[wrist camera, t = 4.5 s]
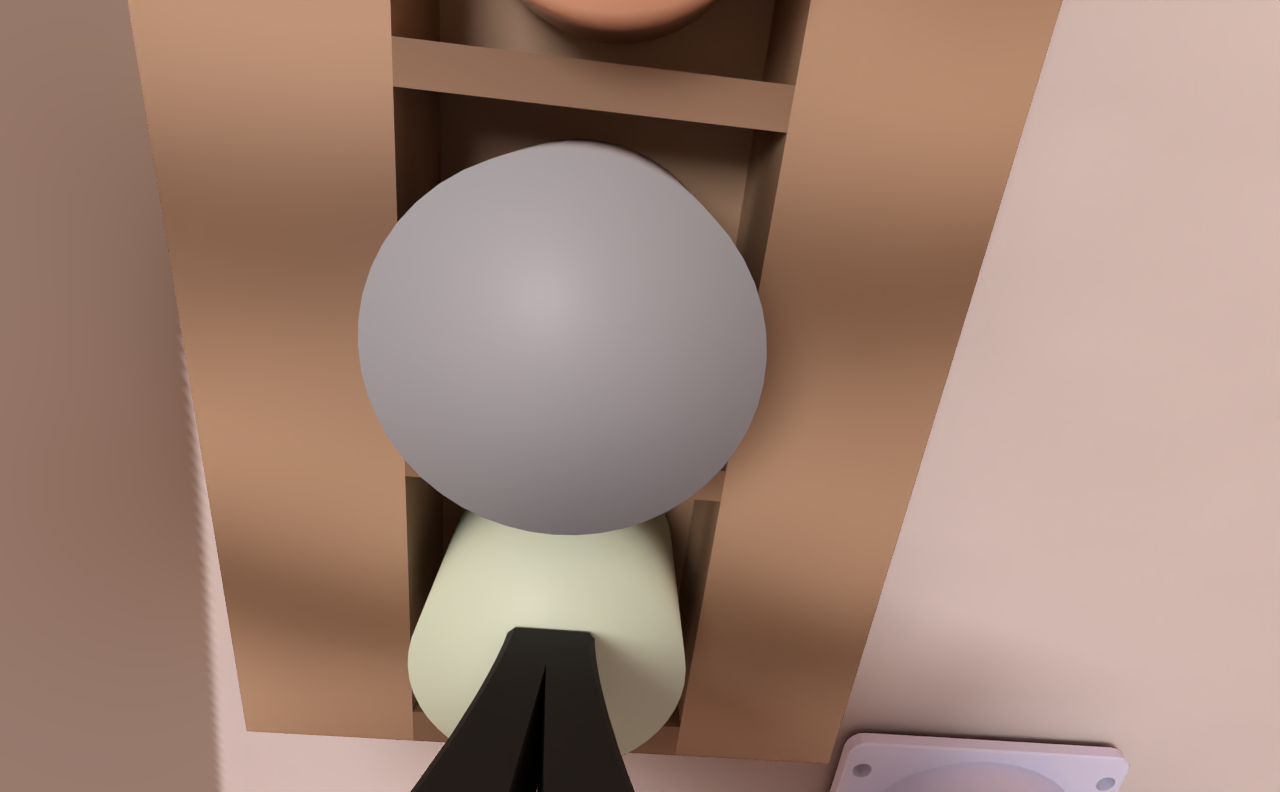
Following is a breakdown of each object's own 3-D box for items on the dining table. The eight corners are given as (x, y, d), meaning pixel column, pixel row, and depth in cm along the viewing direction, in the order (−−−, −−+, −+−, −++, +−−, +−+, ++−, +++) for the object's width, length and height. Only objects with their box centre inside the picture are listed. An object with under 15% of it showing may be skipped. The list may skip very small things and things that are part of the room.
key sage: (658, 638, 15) (667, 778, 12) (456, 625, 15) (410, 764, 12) (684, 463, 14) (704, 571, 10) (456, 444, 13) (404, 548, 10)
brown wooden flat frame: (792, 649, 17) (828, 763, 14) (316, 617, 16) (246, 731, 13) (1041, -334, 10) (1225, -533, 7) (208, -473, 9) (2, -766, 6)
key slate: (701, 430, 12) (731, 548, 9) (438, 407, 12) (368, 520, 8) (745, 156, 10) (803, 175, 7) (437, 121, 10) (345, 123, 7)
